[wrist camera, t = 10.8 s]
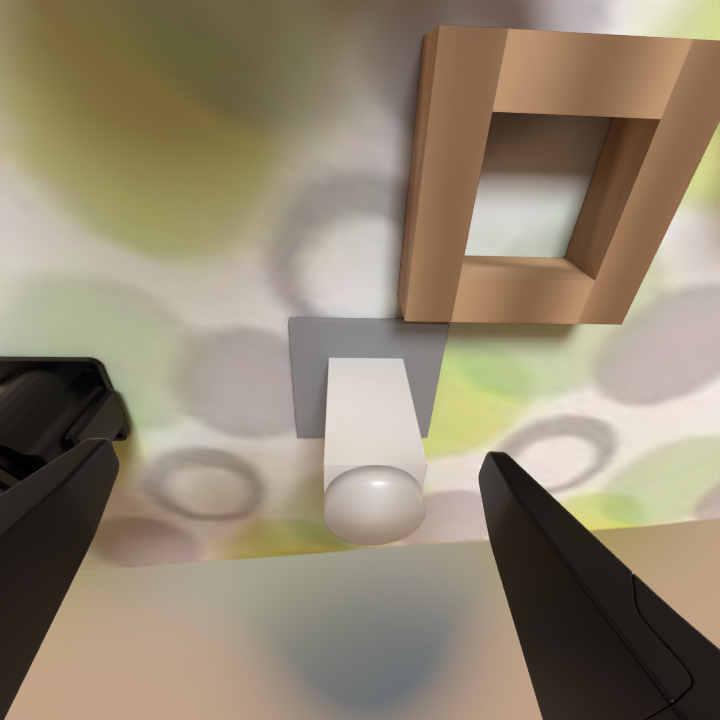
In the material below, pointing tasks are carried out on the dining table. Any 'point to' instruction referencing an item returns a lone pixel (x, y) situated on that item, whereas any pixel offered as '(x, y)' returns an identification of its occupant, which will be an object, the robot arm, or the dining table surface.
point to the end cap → (372, 452)
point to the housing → (608, 185)
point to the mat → (362, 340)
